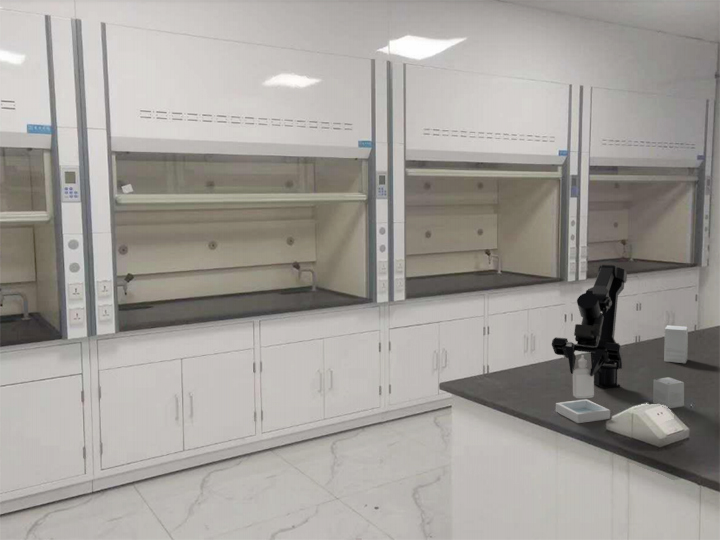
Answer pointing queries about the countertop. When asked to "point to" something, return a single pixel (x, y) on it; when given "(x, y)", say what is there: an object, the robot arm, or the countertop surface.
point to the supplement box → (676, 344)
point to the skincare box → (668, 392)
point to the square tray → (582, 411)
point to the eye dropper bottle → (583, 380)
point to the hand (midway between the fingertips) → (581, 374)
